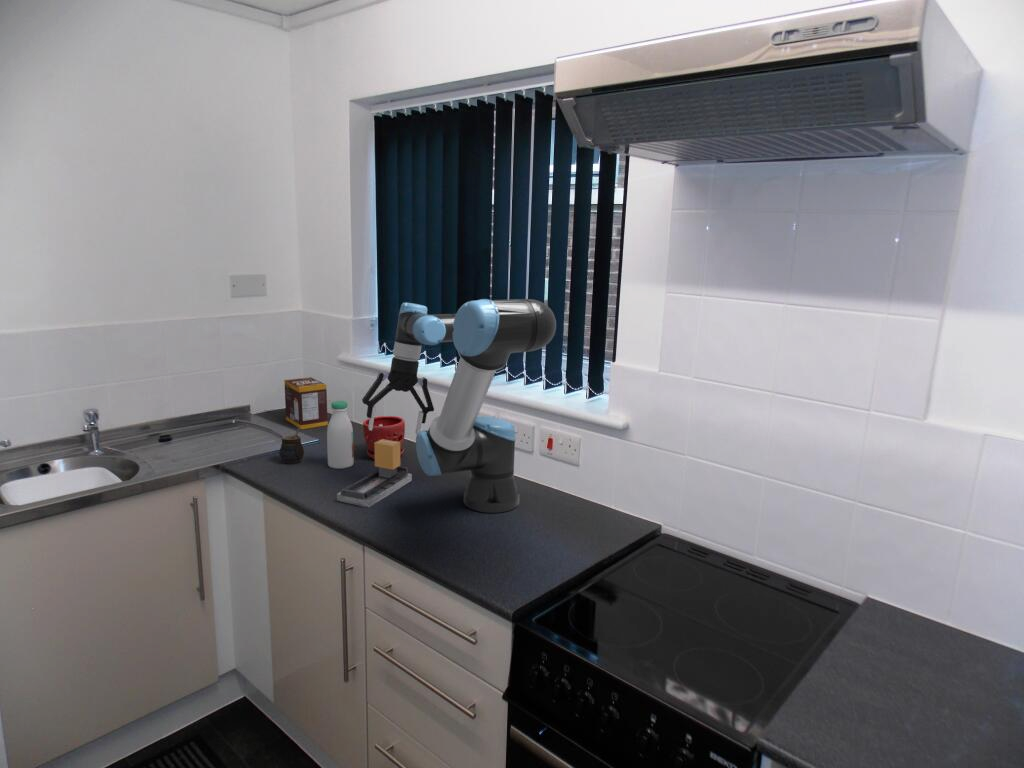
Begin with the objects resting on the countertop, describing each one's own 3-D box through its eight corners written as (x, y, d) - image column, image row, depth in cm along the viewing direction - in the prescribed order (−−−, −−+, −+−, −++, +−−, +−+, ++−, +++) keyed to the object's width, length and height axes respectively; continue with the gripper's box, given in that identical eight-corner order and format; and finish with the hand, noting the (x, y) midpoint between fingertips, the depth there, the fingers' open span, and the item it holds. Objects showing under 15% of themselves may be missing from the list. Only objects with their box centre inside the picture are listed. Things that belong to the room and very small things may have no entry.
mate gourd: (275, 464, 204) (273, 432, 202) (287, 456, 212) (286, 426, 210) (296, 466, 203) (295, 434, 201) (308, 458, 211) (307, 428, 208)
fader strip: (382, 474, 199) (382, 463, 198) (413, 480, 195) (413, 468, 194) (335, 501, 178) (335, 488, 178) (368, 508, 175) (368, 495, 174)
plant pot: (399, 448, 224) (399, 413, 221) (409, 460, 212) (409, 424, 209) (360, 451, 219) (359, 416, 216) (367, 464, 207) (367, 427, 204)
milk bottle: (350, 469, 202) (348, 406, 197) (324, 468, 202) (322, 405, 198) (356, 461, 209) (355, 399, 205) (332, 460, 209) (330, 398, 205)
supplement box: (311, 415, 258) (310, 376, 255) (328, 425, 247) (326, 384, 243) (285, 419, 252) (283, 379, 249) (300, 429, 240) (299, 387, 237)
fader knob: (382, 471, 195) (382, 438, 192) (400, 475, 192) (400, 441, 190) (374, 476, 191) (374, 442, 189) (392, 479, 189) (392, 445, 186)
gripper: (445, 362, 195) (433, 432, 197) (359, 350, 186) (348, 424, 189) (451, 366, 188) (439, 439, 191) (362, 354, 179) (351, 430, 182)
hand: (394, 431), depth 190 cm, fingers open, 13 cm apart
